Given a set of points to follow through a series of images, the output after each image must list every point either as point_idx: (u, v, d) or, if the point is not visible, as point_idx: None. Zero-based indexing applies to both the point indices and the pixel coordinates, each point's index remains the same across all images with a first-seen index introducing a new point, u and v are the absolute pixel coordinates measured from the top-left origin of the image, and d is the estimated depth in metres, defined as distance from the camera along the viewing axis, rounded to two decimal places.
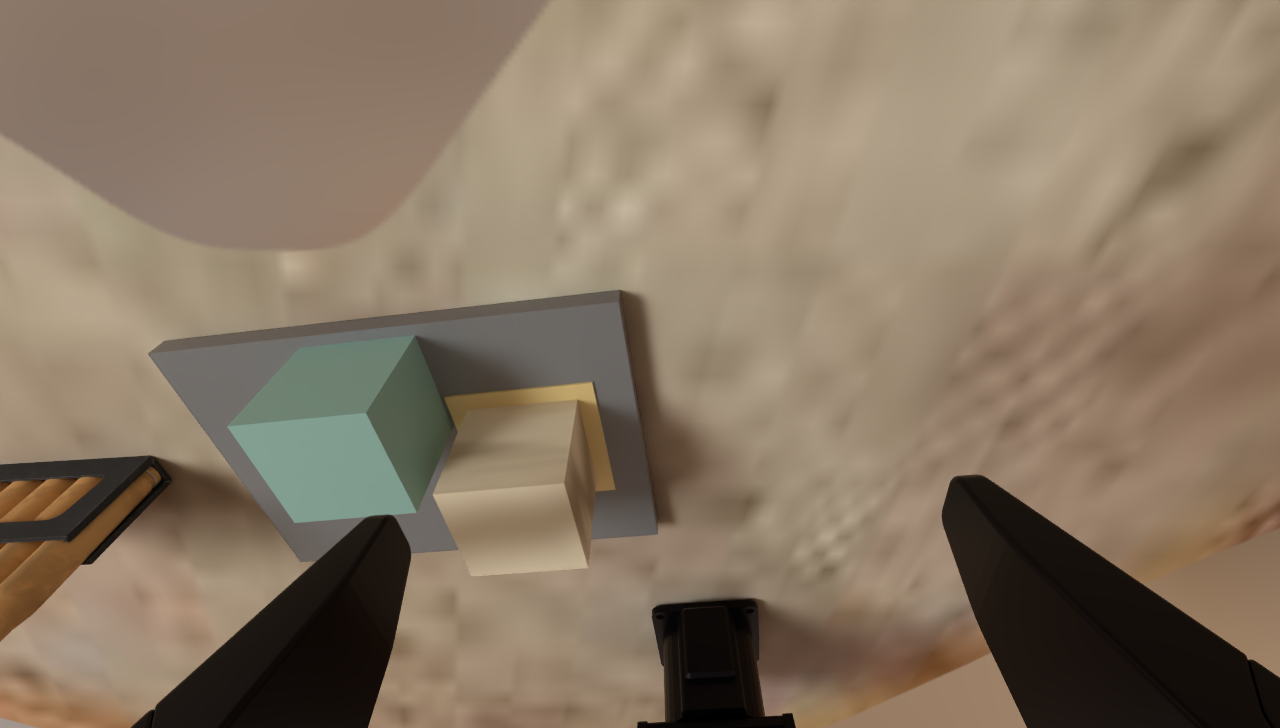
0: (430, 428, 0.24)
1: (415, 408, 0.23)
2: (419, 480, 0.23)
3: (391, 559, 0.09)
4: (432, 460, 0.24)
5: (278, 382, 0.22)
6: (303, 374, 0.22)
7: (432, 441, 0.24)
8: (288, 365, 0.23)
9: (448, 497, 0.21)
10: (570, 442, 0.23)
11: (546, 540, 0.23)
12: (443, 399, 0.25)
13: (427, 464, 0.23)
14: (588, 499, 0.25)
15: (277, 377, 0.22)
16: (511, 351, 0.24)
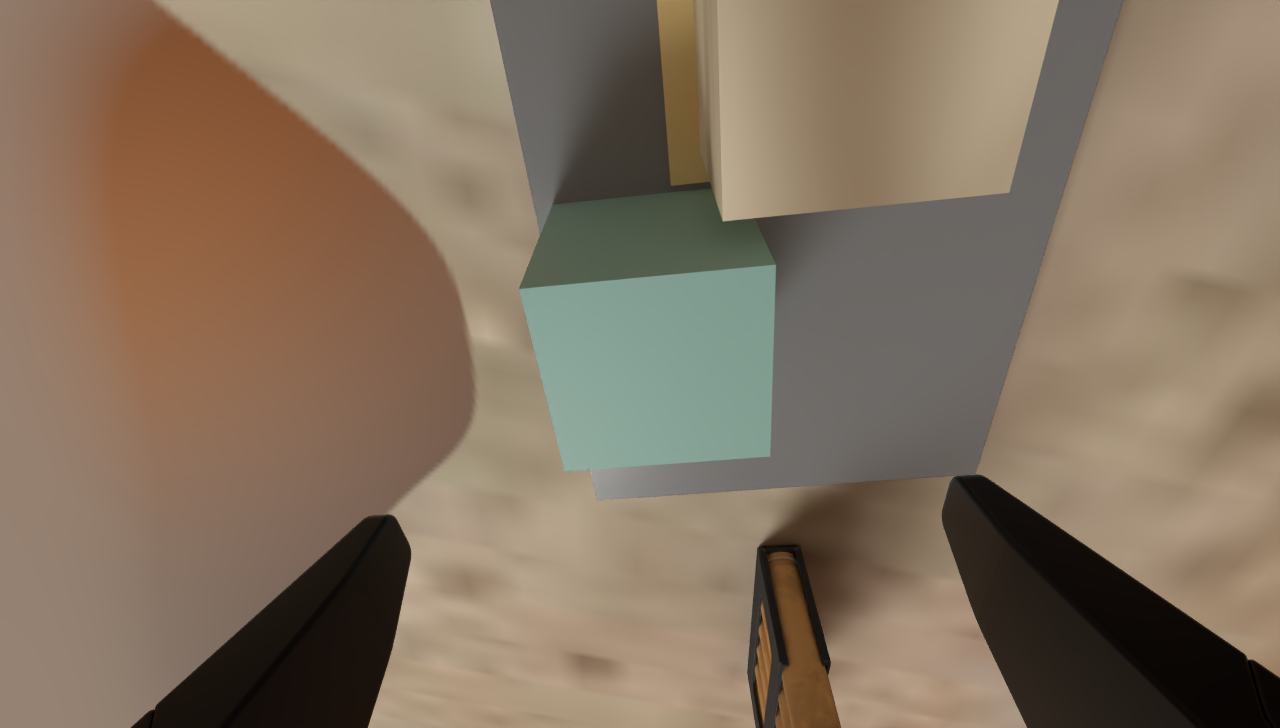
0: (687, 213, 0.14)
1: (629, 225, 0.13)
2: (732, 247, 0.12)
3: (391, 559, 0.09)
4: (736, 222, 0.13)
5: None
6: None
7: (709, 214, 0.13)
8: None
9: (735, 190, 0.10)
10: None
11: None
12: (677, 188, 0.15)
13: (731, 229, 0.13)
14: None
15: None
16: (574, 40, 0.13)
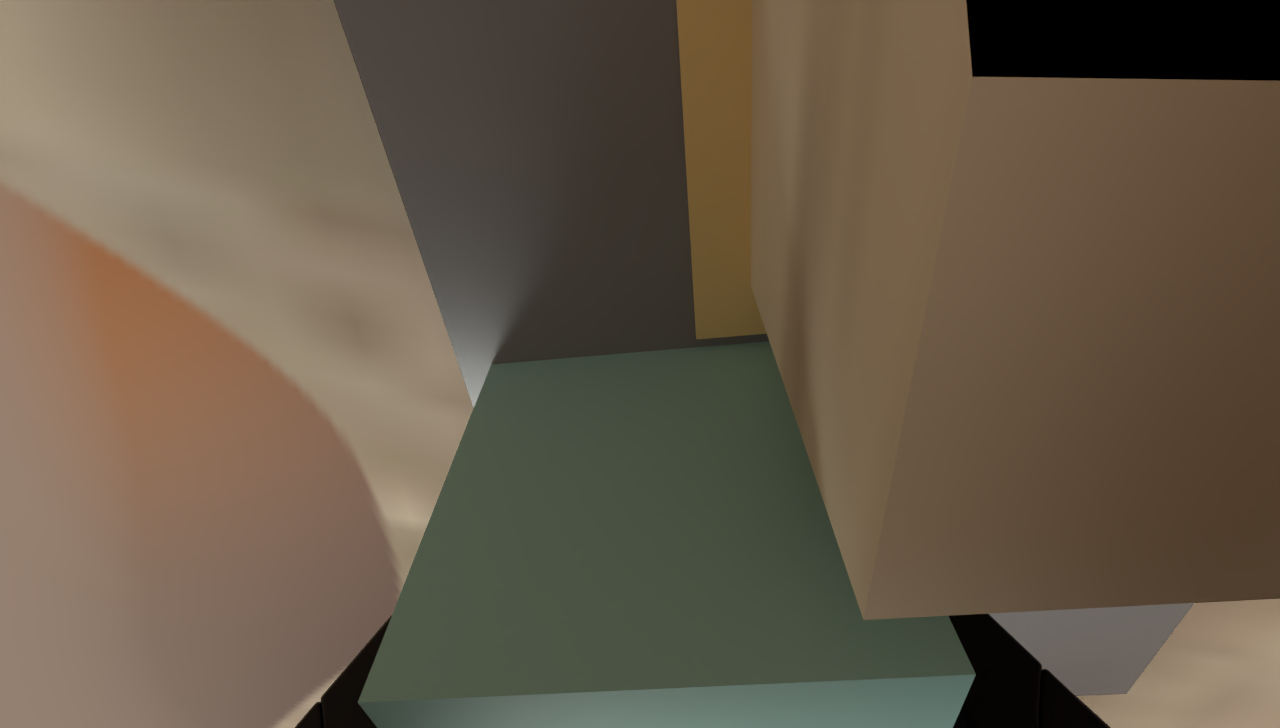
0: (734, 419, 0.07)
1: (622, 448, 0.07)
2: None
3: None
4: None
5: None
6: None
7: (776, 427, 0.07)
8: None
9: (911, 566, 0.04)
10: None
11: None
12: (707, 341, 0.09)
13: None
14: None
15: None
16: (514, 95, 0.07)
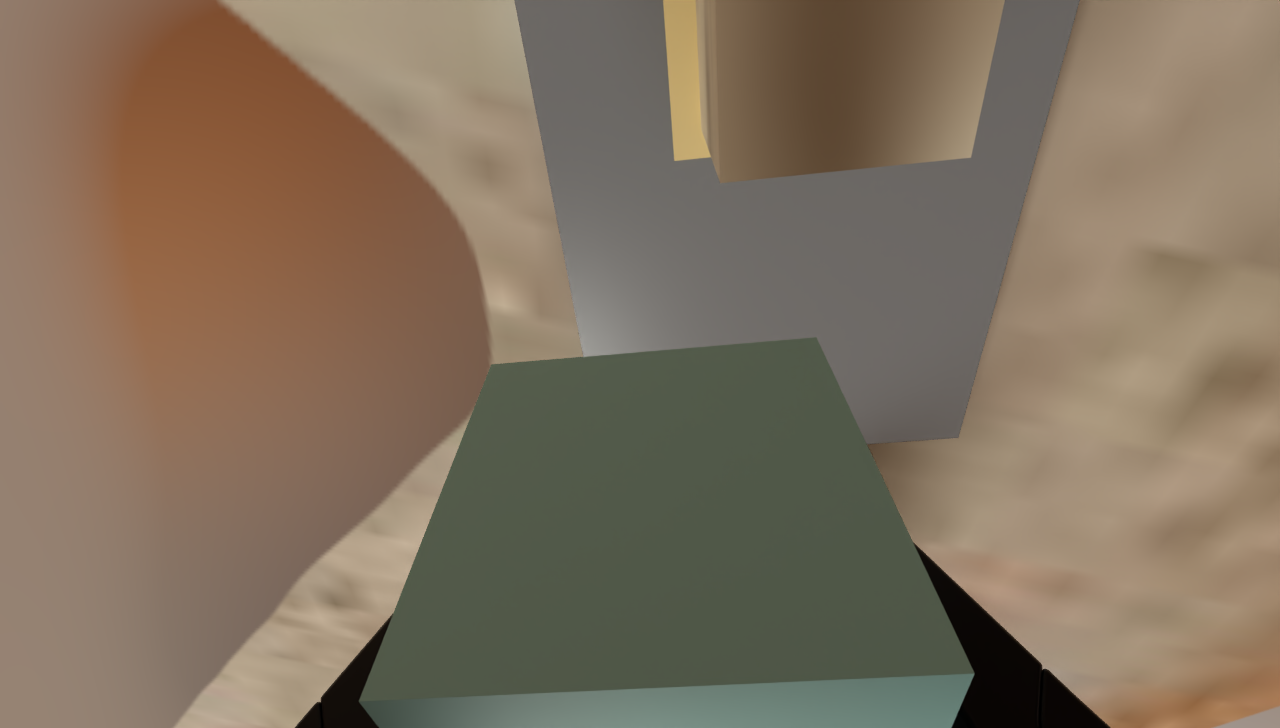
0: (732, 419, 0.07)
1: (622, 448, 0.07)
2: (845, 566, 0.05)
3: None
4: (833, 460, 0.06)
5: None
6: None
7: (776, 427, 0.07)
8: None
9: (731, 155, 0.11)
10: None
11: None
12: (680, 163, 0.17)
13: (828, 489, 0.06)
14: None
15: None
16: (588, 27, 0.15)
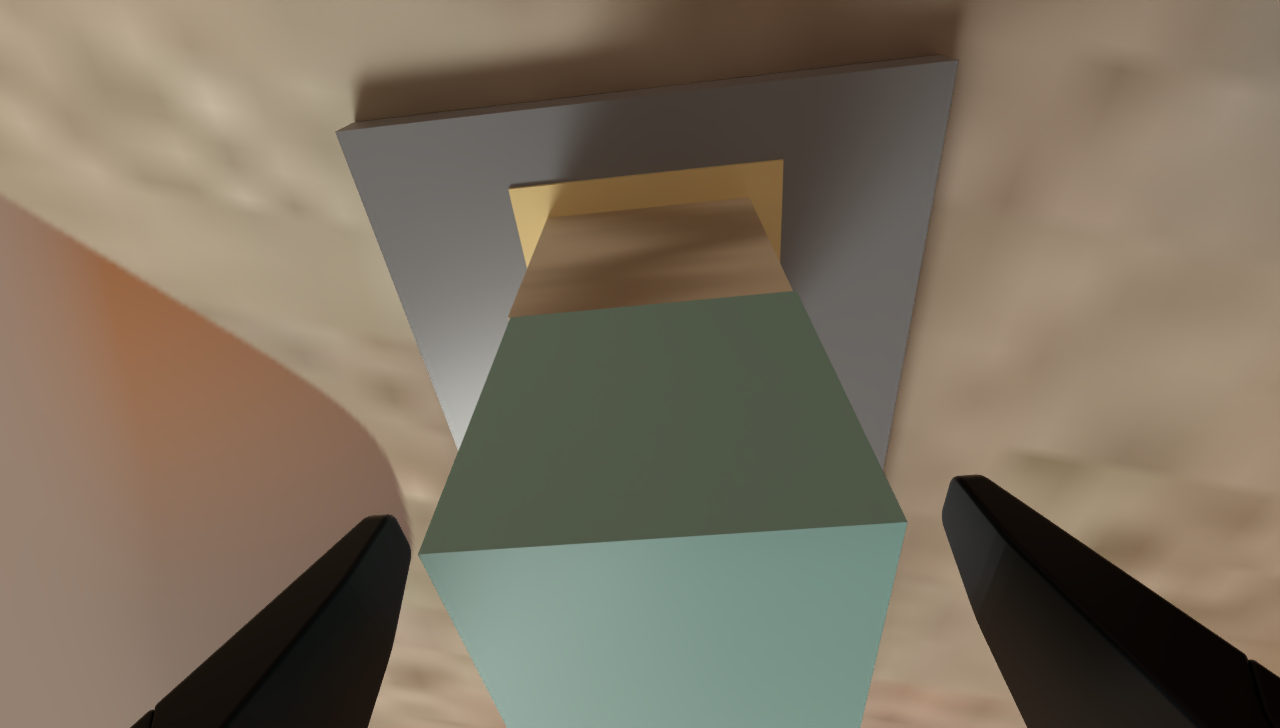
0: (722, 354, 0.08)
1: (627, 377, 0.08)
2: (810, 455, 0.07)
3: (391, 559, 0.09)
4: (806, 381, 0.08)
5: None
6: None
7: (758, 359, 0.08)
8: None
9: None
10: (530, 264, 0.12)
11: None
12: None
13: (800, 402, 0.07)
14: (709, 238, 0.12)
15: None
16: (465, 306, 0.16)
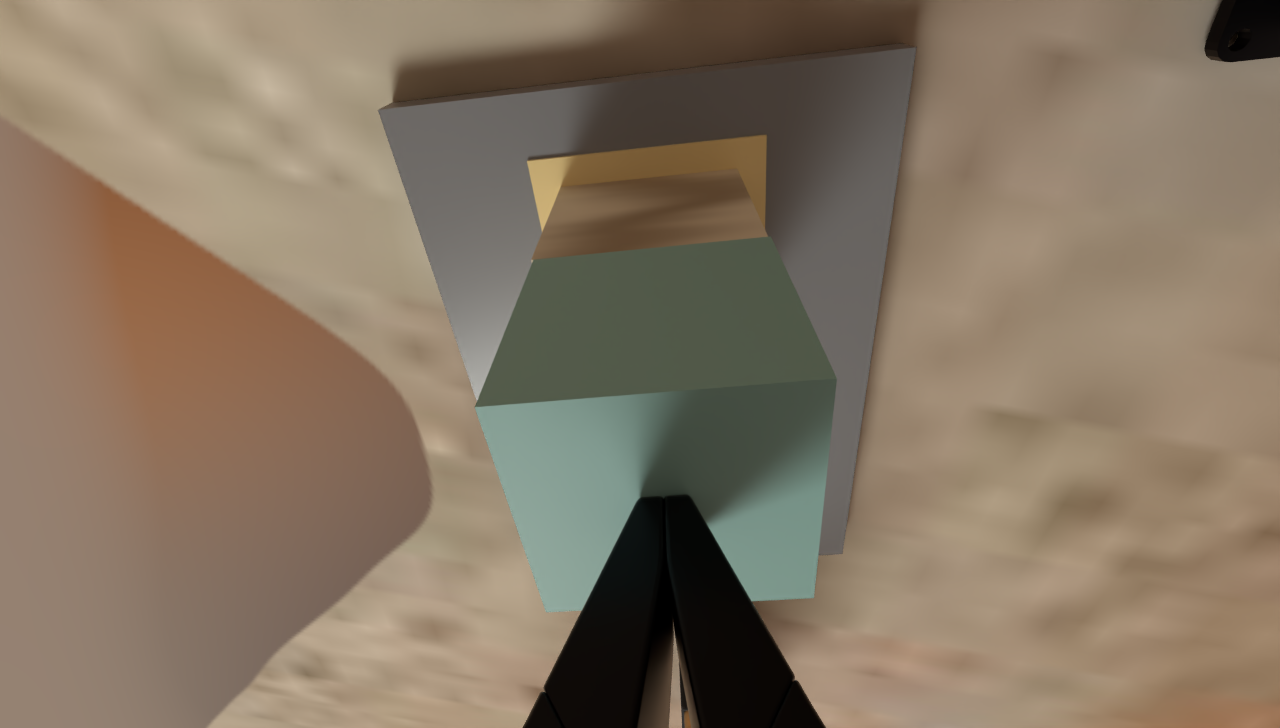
0: (707, 280, 0.10)
1: (630, 297, 0.10)
2: (770, 341, 0.09)
3: None
4: (771, 296, 0.10)
5: None
6: None
7: (735, 283, 0.10)
8: None
9: None
10: (548, 221, 0.14)
11: None
12: None
13: (766, 309, 0.09)
14: (701, 200, 0.14)
15: None
16: (487, 267, 0.18)
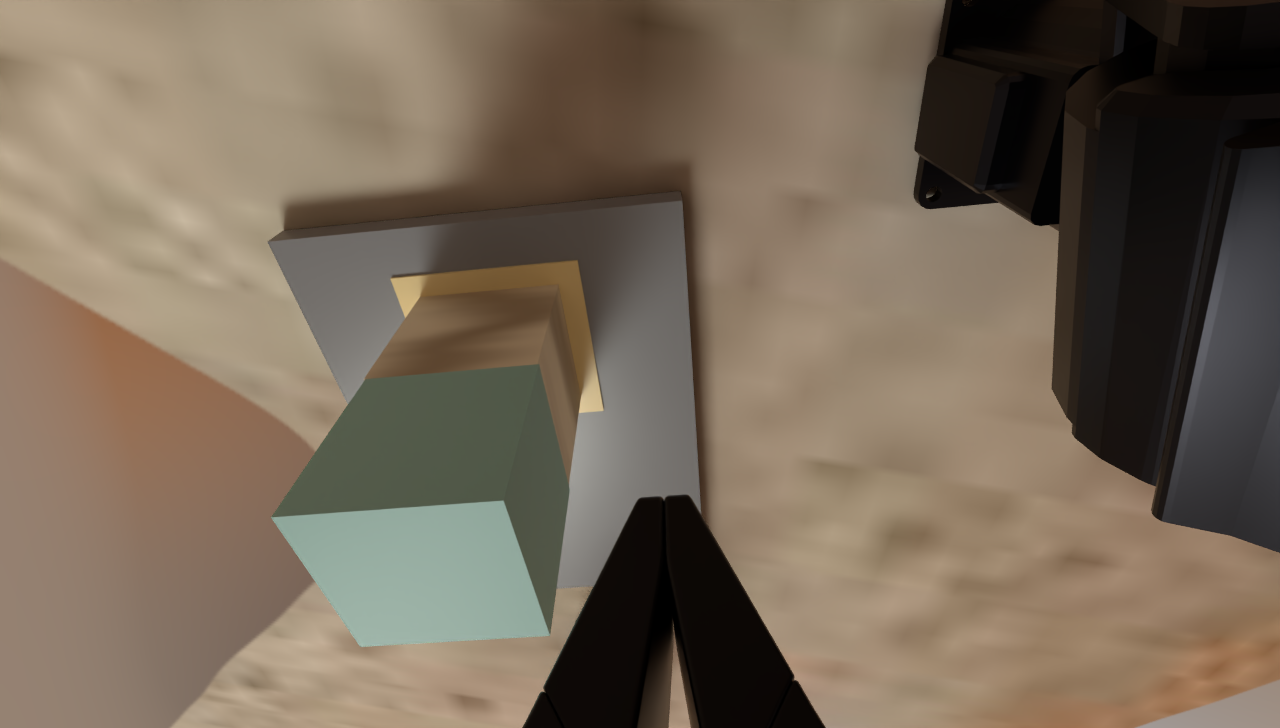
0: (472, 407, 0.15)
1: (414, 421, 0.14)
2: (481, 467, 0.13)
3: None
4: (505, 425, 0.14)
5: None
6: None
7: (490, 411, 0.14)
8: None
9: None
10: (393, 337, 0.18)
11: None
12: None
13: (495, 438, 0.13)
14: (513, 320, 0.18)
15: None
16: (369, 355, 0.22)
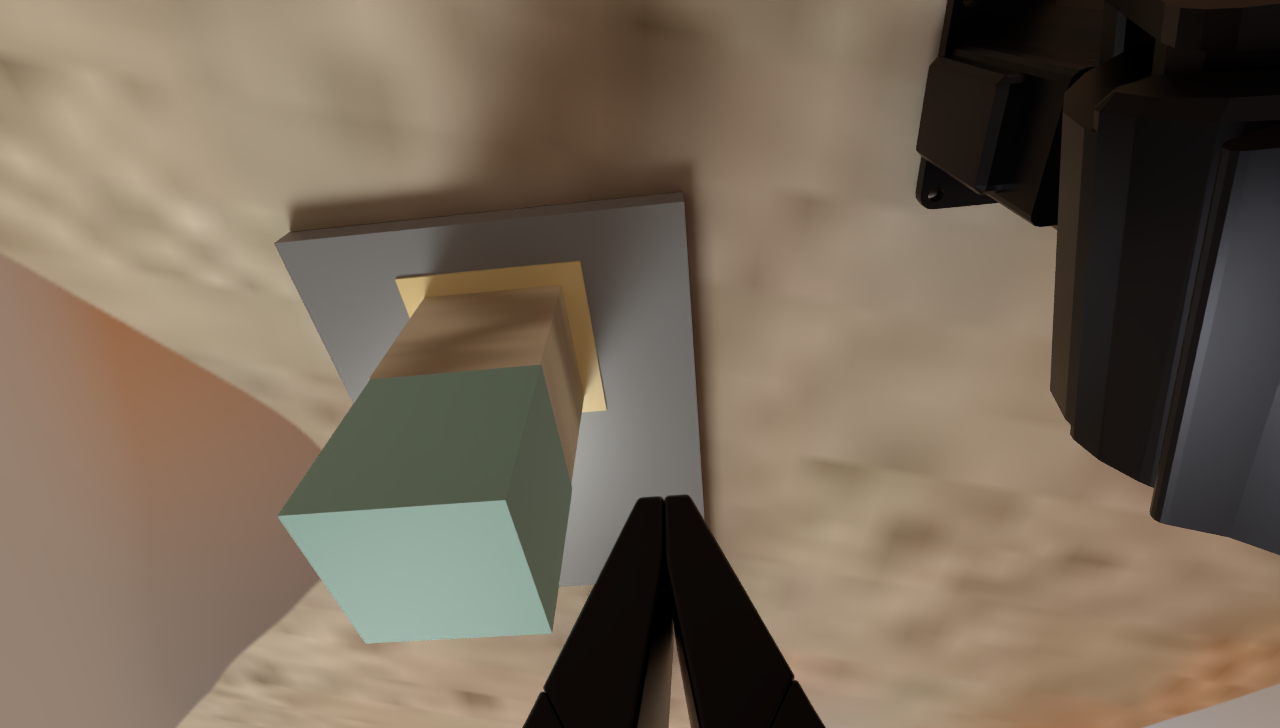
0: (475, 407, 0.15)
1: (417, 422, 0.14)
2: (483, 467, 0.13)
3: None
4: (507, 425, 0.14)
5: None
6: None
7: (492, 411, 0.14)
8: None
9: None
10: (398, 338, 0.18)
11: None
12: None
13: (497, 438, 0.14)
14: (516, 320, 0.18)
15: None
16: (374, 355, 0.22)
